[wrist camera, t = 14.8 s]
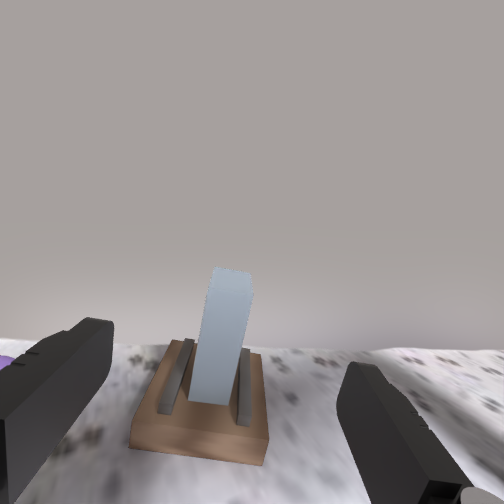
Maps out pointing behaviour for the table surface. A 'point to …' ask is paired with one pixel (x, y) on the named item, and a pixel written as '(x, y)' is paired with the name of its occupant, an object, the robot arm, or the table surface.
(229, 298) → the light blue rectangular block
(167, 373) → the display stand
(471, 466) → the table surface
